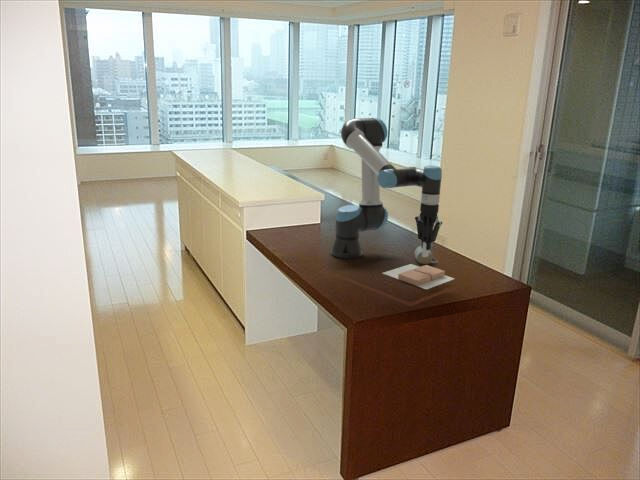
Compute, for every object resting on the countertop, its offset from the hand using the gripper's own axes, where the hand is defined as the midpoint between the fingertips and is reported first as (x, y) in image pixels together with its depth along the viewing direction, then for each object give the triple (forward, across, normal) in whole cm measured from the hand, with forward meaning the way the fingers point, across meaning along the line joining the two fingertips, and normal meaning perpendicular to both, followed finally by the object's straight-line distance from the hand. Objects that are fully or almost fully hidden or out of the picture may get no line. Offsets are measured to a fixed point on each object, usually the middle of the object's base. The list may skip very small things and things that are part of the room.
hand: (425, 256), depth 229 cm
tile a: (+7, -2, -10) cm, 12 cm away
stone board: (+9, 0, -4) cm, 10 cm away
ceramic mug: (+9, -10, +15) cm, 20 cm away
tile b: (+7, -2, 0) cm, 7 cm away
